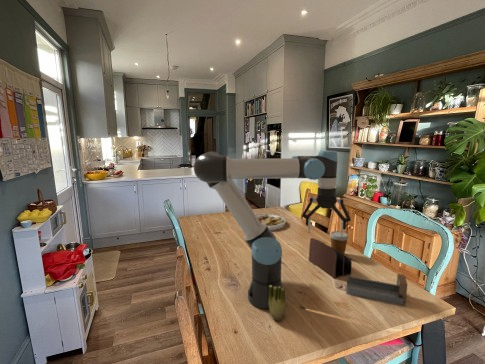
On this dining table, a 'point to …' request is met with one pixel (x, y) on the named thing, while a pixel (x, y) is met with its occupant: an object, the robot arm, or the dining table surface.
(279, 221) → the bowl
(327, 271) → the letter holder
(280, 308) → the fennel bulb
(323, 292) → the dining table surface
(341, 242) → the disposable coffee cup
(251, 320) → the dining table surface
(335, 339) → the dining table surface
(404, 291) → the channel
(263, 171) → the robot arm
